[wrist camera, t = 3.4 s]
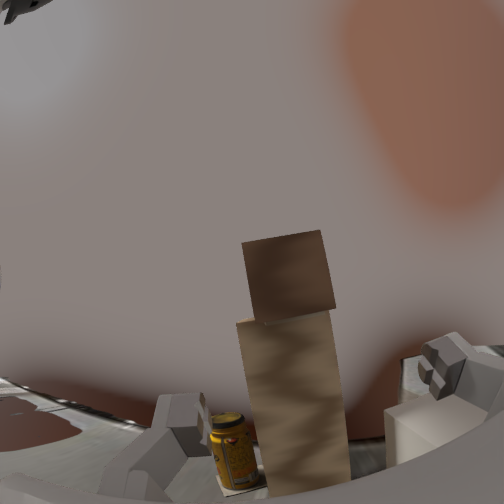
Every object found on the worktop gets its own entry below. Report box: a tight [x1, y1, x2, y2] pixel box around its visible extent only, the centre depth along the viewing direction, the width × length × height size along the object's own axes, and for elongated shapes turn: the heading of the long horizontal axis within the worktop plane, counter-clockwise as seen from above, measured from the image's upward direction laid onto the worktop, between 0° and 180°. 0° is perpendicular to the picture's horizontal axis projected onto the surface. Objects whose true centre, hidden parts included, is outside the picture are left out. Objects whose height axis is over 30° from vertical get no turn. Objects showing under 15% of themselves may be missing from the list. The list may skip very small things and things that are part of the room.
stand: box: [236, 310, 351, 498], centre depth 26 cm, size 7×13×26 cm, turn 179°
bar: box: [242, 230, 336, 326], centre depth 24 cm, size 4×20×4 cm, turn 179°
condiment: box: [210, 412, 267, 496], centre depth 38 cm, size 7×8×12 cm
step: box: [384, 393, 488, 469], centre depth 14 cm, size 7×15×15 cm, turn 179°
